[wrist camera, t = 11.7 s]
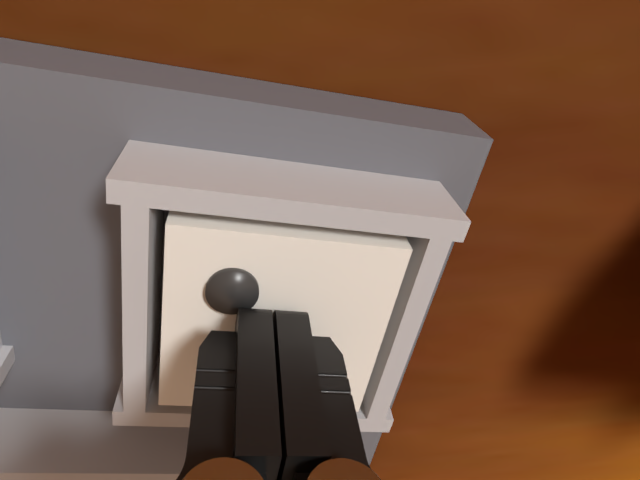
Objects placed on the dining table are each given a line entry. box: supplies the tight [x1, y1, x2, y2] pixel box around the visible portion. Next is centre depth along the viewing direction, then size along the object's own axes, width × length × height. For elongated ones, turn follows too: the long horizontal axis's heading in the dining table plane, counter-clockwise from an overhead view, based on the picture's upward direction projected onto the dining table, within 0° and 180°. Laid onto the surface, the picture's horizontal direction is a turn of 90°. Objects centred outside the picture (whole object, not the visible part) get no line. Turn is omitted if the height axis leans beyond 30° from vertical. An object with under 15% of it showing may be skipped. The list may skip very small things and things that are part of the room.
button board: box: [0, 37, 493, 480], centre depth 14 cm, size 19×17×4 cm
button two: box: [158, 210, 413, 412], centre depth 12 cm, size 5×5×2 cm
